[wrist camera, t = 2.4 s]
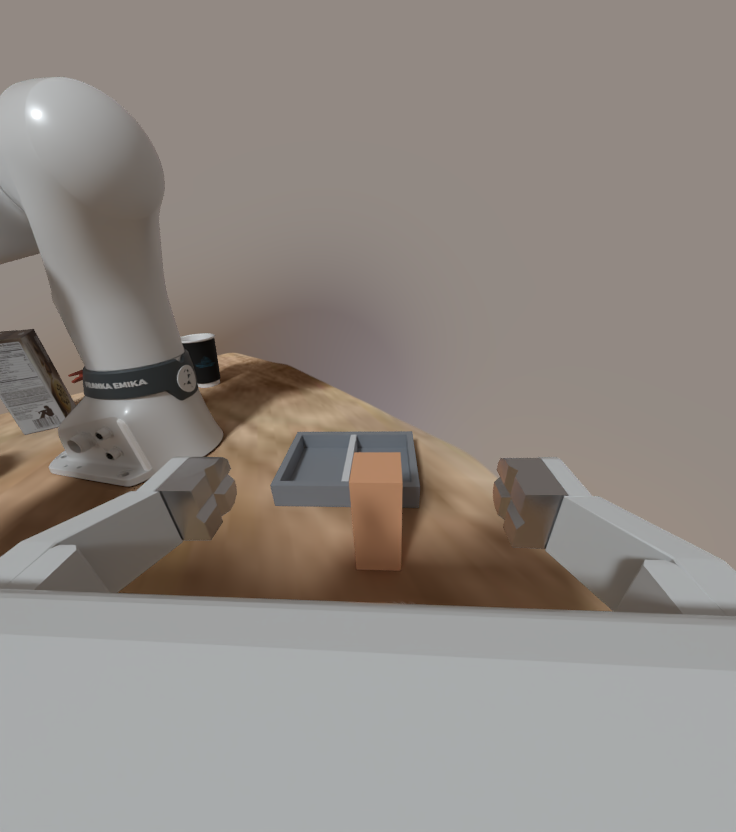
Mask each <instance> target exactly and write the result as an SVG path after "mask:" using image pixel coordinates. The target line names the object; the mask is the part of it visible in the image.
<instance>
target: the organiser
mask: <svg viewBox="0 0 736 832" xmlns="http://www.w3.org/2000/svg"><path fill="white" fill-rule="evenodd" d="M354 452H400V453H401V468H402V482H403V486H402V508H419V497H420V483H419V476H418V469H417V462H416V455H415V448H414V441H413V434H412V432H298V433H297V435H296V437H295V439H294V441H293V443H292V444H291V446H290V448H289V450H288V452H287V454H286V456H285V458H284V460H283V462H282V464H281V466H280V468H279V470H278V472H277V474H276V476H275V478H274V479H273V481H272V483H271V485H270V486H271V490H272V494H273V499H274V503H275V506H326V507H351V501H350V490H349V479H350V474H351V468H352V462H353V456H354Z"/></svg>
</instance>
